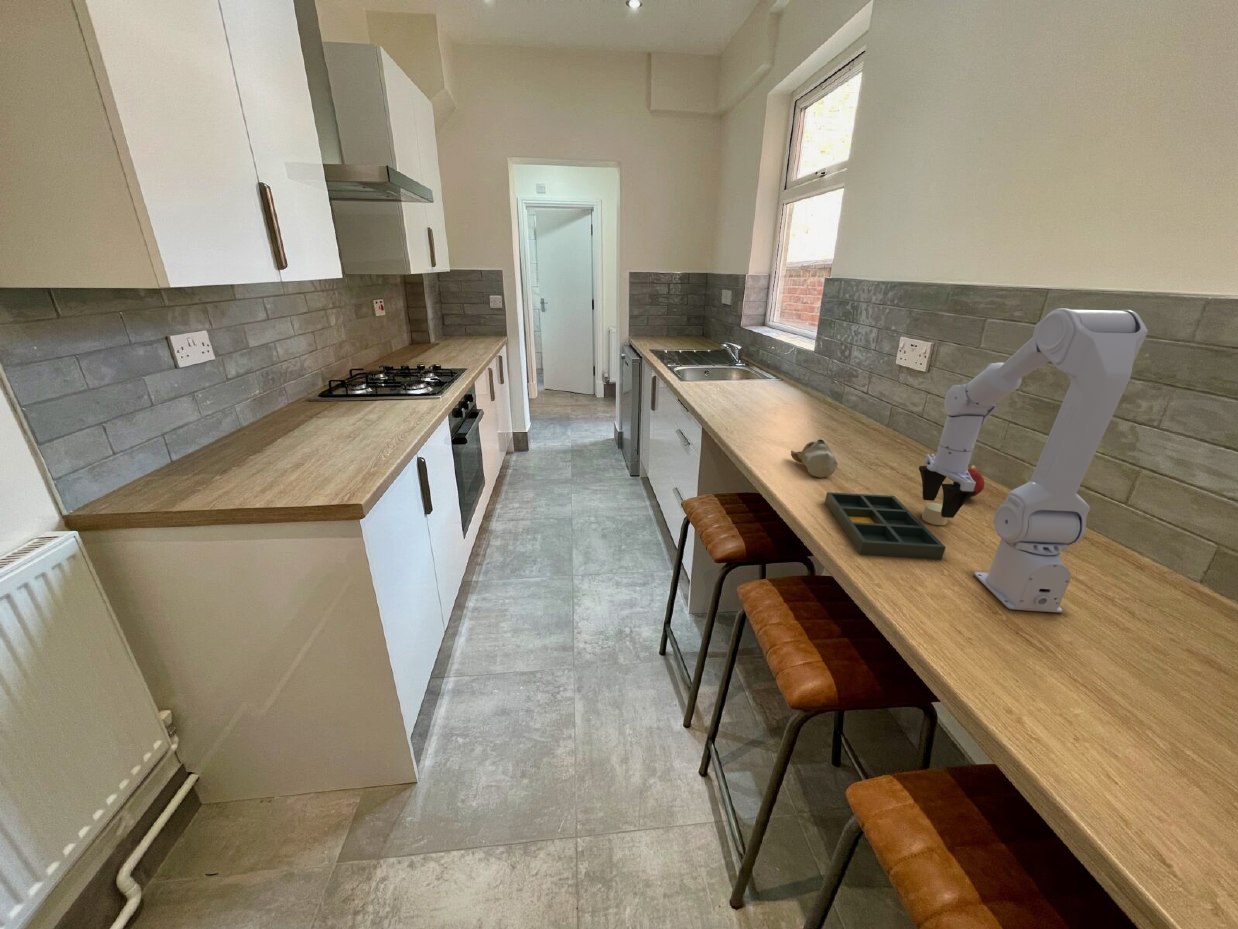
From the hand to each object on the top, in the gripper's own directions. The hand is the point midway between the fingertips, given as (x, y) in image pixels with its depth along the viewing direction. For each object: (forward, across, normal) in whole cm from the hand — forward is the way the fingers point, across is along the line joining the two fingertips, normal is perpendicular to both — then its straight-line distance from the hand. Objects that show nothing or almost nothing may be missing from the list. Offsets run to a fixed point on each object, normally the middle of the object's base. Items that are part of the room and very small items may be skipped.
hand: (937, 508), depth 101 cm
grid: (+3, +5, -14) cm, 15 cm away
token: (+3, 0, 0) cm, 3 cm away
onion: (+3, -12, +12) cm, 18 cm away
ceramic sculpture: (+3, -25, -18) cm, 31 cm away
